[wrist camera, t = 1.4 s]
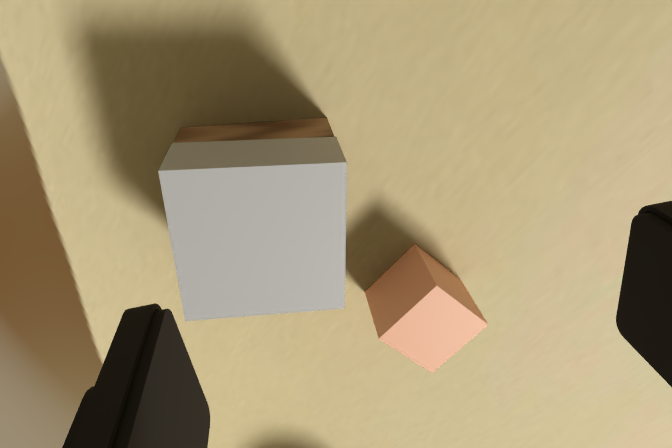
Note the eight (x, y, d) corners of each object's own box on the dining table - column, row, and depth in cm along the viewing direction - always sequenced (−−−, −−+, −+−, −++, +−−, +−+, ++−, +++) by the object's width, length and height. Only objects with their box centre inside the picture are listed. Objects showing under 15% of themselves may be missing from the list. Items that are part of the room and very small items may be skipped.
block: (414, 243, 40) (436, 285, 35) (460, 280, 43) (488, 324, 38) (364, 291, 42) (378, 338, 37) (412, 324, 45) (431, 372, 39)
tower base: (326, 115, 35) (333, 135, 31) (331, 238, 40) (339, 269, 36) (181, 126, 34) (170, 147, 30) (205, 250, 39) (198, 283, 35)
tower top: (336, 136, 31) (346, 162, 27) (335, 270, 36) (344, 308, 32) (171, 143, 30) (157, 170, 26) (194, 280, 35) (185, 321, 31)
